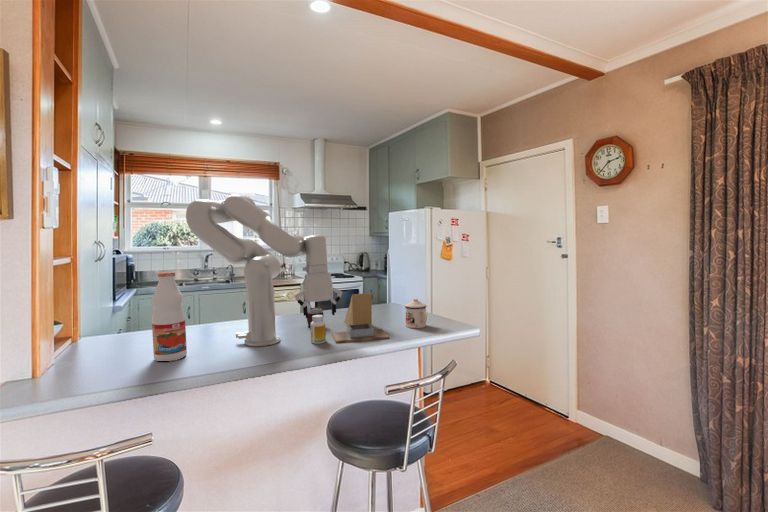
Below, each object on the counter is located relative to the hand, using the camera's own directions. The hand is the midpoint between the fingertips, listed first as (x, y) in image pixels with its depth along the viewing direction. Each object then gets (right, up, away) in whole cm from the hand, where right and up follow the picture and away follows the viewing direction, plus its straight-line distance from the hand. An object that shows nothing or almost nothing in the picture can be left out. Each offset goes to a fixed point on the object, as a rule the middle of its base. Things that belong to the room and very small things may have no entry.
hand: (320, 316), depth 138 cm
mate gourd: (-6, -9, +22) cm, 24 cm away
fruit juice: (-46, -12, -15) cm, 50 cm away
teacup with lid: (+38, -8, +20) cm, 44 cm away
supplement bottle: (-1, -10, +1) cm, 10 cm away
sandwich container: (+12, -8, +25) cm, 29 cm away
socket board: (+14, -9, +7) cm, 18 cm away
